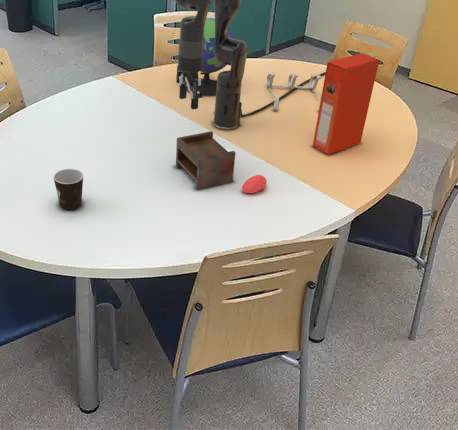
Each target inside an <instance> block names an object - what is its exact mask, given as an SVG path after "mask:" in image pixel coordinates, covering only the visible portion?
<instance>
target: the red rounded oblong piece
mask: <svg viewBox="0 0 458 430" xmlns="http://www.w3.org/2000/svg"><path fill="white" fill-rule="evenodd" d="M266 186H267V178H266V176H264V175H262V174H256V175H253V176H251V177H249V178H248V179H247V180H246V181H244V183H243V184H242V187H241V190H242V191H243V193H246V194H253V193H257V192H259V191H262V190H263V189H264V188H265V187H266Z"/></svg>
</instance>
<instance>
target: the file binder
mask: <svg viewBox="0 0 458 430" xmlns="http://www.w3.org/2000/svg"><path fill="white" fill-rule="evenodd" d="M379 64H380V59H379V58H377V57H374V56H371V55H368V54H366V53H357V54H353V55H349V56H346V57H341V58H338V59H334V60H331V61H327V63H326V69H325V72H326V74H324V80H323V84H322V90H321V91H322V92H321V95H320V96H321V98H320V99H321V100H320V102H319V107H318V113H317V120H316V123H315V131H314V136H313V142H312V148H314V149H316V150H317V151H320V152H321V153H323V154H325V155H331V154H334V153H337V152H340V151H343V150H345V149H348V148H350V147H351V148H352V147H354V146H357V145H358V144H359V145H360V144H361V142H362V138H363V134H364V129H365V125H366V120H367V117H368V112H369V108H370V104H371V99H372V94H373V90H374V85H375V81H376V76H377V72H378V68H379Z"/></svg>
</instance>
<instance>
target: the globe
mask: <svg viewBox="0 0 458 430" xmlns="http://www.w3.org/2000/svg"><path fill="white" fill-rule="evenodd" d="M228 33H229V38H233V39H235V37H234V34H233V32H232V30H231V29H230V28H229V31H228ZM214 43H215V17H214V18H213V17H206V21H205V26H204V53H203V68H202V70H200V71H199V72H200V73H199V74H200V75H204V76H203V77H202V79H203V97H216V87H217V79H212V78H211V75H210V74H212V73H216V72H219V71H221V70H223V69H224V68H226V67H227V66H228V65H227V64H223V63H220V62H218V61H217V60H216V58H215V53H214ZM185 87H187V86H185ZM191 88H194V87H191ZM187 91H188V87H187ZM188 92H189V93H190V91H188ZM193 93H194V91H193ZM199 93H200V91H199Z"/></svg>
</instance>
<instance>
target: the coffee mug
mask: <svg viewBox="0 0 458 430" xmlns="http://www.w3.org/2000/svg"><path fill="white" fill-rule="evenodd" d="M53 181H54V186H55V190H56V194H57V198H58V203H59V207H60V208H61V209H62V210H63V211H64V210H65V211H69V212H70V211H75V210H79V209H80V208H81V207H82V200H83V185H84V174H83V172H82V171H81V170H78V169H76V168H64V169H60V170H58V171H57V172H55V173H54V174H53Z"/></svg>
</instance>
